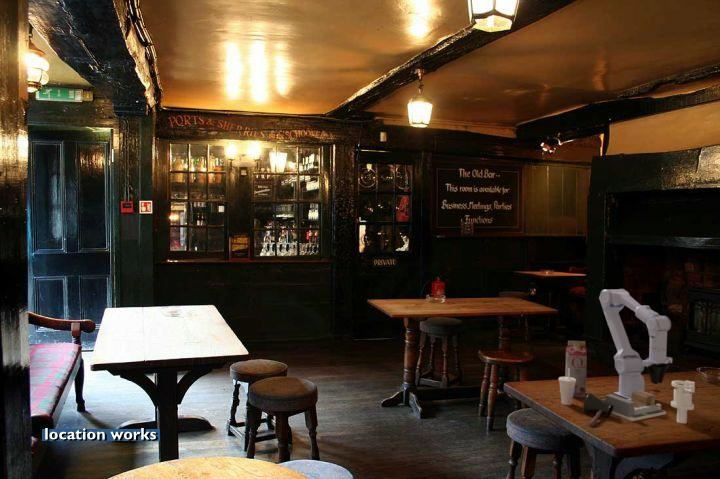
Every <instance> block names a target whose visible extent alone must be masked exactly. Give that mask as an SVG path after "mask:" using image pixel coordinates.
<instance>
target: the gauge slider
mask: <svg viewBox="0 0 720 479" xmlns="http://www.w3.org/2000/svg"><path fill="white" fill-rule="evenodd" d="M655 397H656V395H655V394H652V393H649V392H646V391H644V392H643V391H636V392H632V394H631V401H633V402H635V407H637V408H639V407H644V406H649V405H654V406H657V407H658V406H659V405H656V404H657V403H656V402H655V399H656V398H655Z"/></svg>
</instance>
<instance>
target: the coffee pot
mask: <svg viewBox="0 0 720 479" xmlns="http://www.w3.org/2000/svg"><path fill="white" fill-rule="evenodd" d="M584 398H585V399H584V402H583V405H582V410H583V412H584V413H585V414H593V415H595V416H594V417H593V418H591V420H587V421H586V425H587V426H589V427H591V428H593V427H595V426H596V424H597V423H598V422H599V418H600V417H601V416H605V417H607V418H608V419H609V418H611V416H612V415H613V414H612V411H613V405H608V404H607V403H605V401H604V400H603V399H601V398H600V397H598V396H597V395H595V394H594V393H592V392H590V393H587V395H586V397H584ZM588 422H589V424H588Z"/></svg>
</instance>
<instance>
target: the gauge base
mask: <svg viewBox="0 0 720 479" xmlns="http://www.w3.org/2000/svg"><path fill="white" fill-rule="evenodd" d="M604 402H605V403H607V404H608V405H613V411H612V414H611V415H615V416H618V417H619V418H622V419H625V420H628V421H630V422H635V421H640V420H641V421H642V420H645V419H649V418H655V417H660V416H664V415H666V414H667V411H665V410H662V403H661V404H660V403H655V404H656V405H659V406H658V407H657V406H654V405H649V406H644V407H639V408H637V407H635V402H633V401H631V399H628V398H625V397H622V396H619V395H616V394H614V393H613V394H612V393H610V394H609V393H608V394H605V401H604Z"/></svg>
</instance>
